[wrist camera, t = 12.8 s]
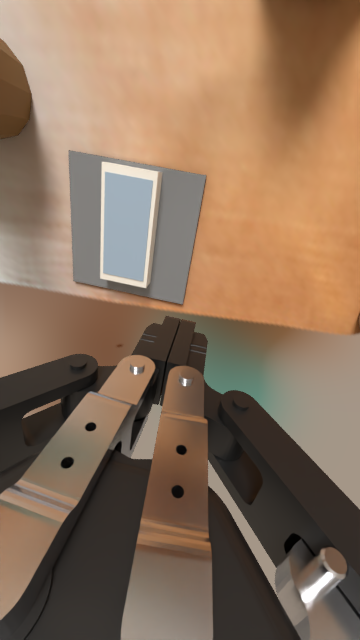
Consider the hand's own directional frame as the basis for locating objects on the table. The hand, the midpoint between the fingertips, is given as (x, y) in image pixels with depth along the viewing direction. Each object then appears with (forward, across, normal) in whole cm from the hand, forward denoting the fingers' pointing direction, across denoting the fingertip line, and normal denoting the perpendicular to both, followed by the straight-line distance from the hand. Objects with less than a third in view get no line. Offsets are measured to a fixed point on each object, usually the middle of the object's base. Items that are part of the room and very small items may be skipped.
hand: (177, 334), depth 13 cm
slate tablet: (+25, +11, +8) cm, 29 cm away
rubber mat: (+27, +11, +2) cm, 29 cm away
